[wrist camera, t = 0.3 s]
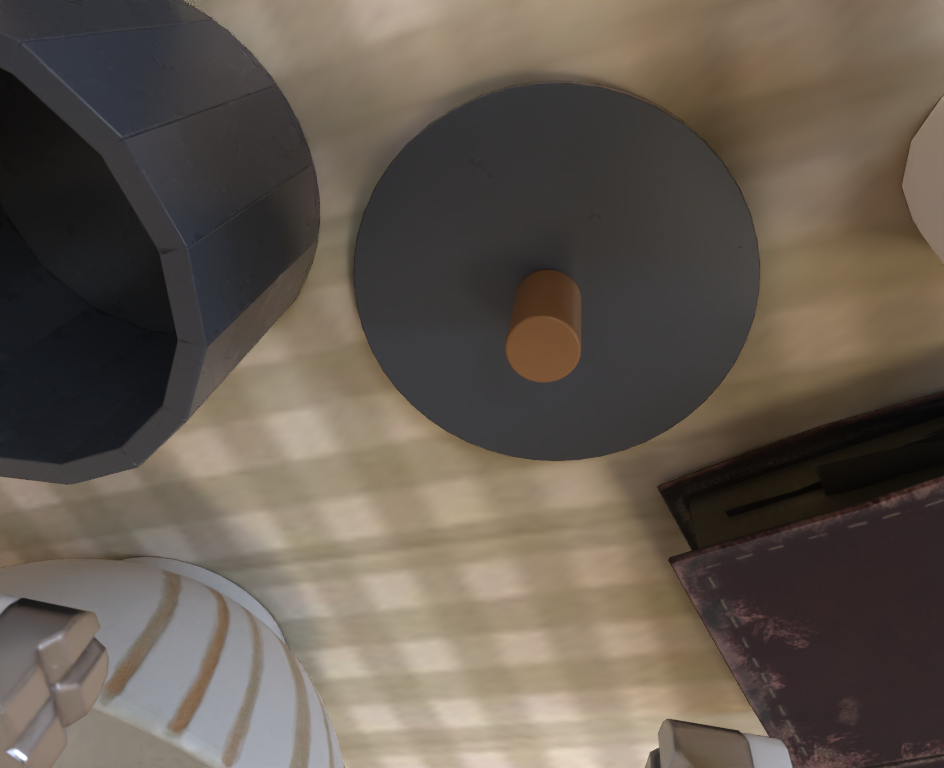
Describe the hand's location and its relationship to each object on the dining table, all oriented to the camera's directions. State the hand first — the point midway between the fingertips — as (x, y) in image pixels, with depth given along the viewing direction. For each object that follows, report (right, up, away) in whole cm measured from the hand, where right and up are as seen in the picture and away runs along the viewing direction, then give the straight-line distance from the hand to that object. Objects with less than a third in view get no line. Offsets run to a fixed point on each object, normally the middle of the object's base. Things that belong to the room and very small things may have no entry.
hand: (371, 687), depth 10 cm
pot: (-11, +12, +16) cm, 23 cm away
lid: (+4, +8, +16) cm, 18 cm away
